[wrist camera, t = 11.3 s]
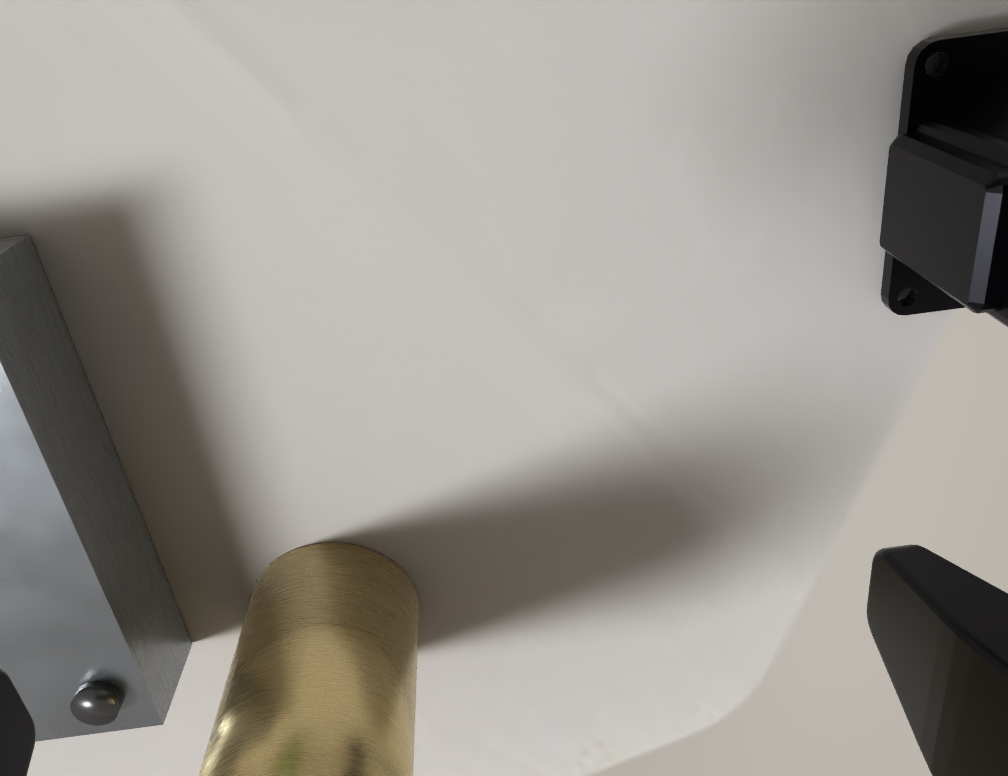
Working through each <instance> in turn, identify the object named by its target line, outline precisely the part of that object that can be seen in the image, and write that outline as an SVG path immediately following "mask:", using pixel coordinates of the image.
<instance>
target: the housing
mask: <svg viewBox="0 0 1008 776" xmlns="http://www.w3.org/2000/svg"><path fill="white" fill-rule="evenodd" d="M191 646H192V642H191V639H190V637H189V634H188V632H187V629H186V627H185V624H184V622H183V619H182V617H181V614H180V612H179V609H178V607H177V604H176V602H175V599H174V597H173V594H172V592H171V589H170V587H169V584H168V581H167V579H166V576H165V574H164V571H163V569H162V566H161V564H160V561H159V559H158V556H157V554H156V551H155V549H154V546H153V544H152V541H151V539H150V536H149V534H148V531H147V529H146V526H145V524H144V521H143V519H142V516H141V514H140V511H139V509H138V506H137V504H136V501H135V499H134V496H133V494H132V491H131V489H130V486H129V484H128V481H127V478H126V476H125V473H124V471H123V468H122V466H121V463H120V461H119V458H118V456H117V453H116V451H115V448H114V446H113V443H112V441H111V438H110V436H109V433H108V431H107V428H106V426H105V423H104V421H103V418H102V416H101V413H100V411H99V408H98V406H97V403H96V401H95V398H94V396H93V393H92V391H91V388H90V386H89V383H88V381H87V378H86V376H85V373H84V370H83V368H82V365H81V363H80V360H79V358H78V355H77V353H76V350H75V348H74V345H73V343H72V340H71V338H70V335H69V333H68V330H67V328H66V325H65V323H64V320H63V318H62V315H61V313H60V310H59V308H58V305H57V303H56V300H55V298H54V295H53V293H52V290H51V288H50V285H49V283H48V280H47V278H46V275H45V273H44V270H43V267H42V265H41V262H40V260H39V257H38V255H37V252H36V250H35V247H34V245H33V242H32V240H31V237H30V235H29V234H28V235H20V236H13V237H5V238H0V669H1V670H3V671H4V672H6V673H7V675H8V676H9V677H10V679H11V681H12V683H13V685H14V686H15V688H16V690H17V692H18V694H19V695H20V697H21V699H22V701H23V703H24V704H25V706H26V708H27V710H28V712H29V713H30V715H31V717H32V719H33V722H34V726H35V734H36V736H35V741H43V740H50V739H58V738H65V737H73V736H80V735H88V734H95V733H103V732H110V731H118V730H126V729H133V728H141V727H148V726H156V725H163V724H164V721H165V718H166V715H167V712H168V710H169V707H170V704H171V701H172V699H173V696H174V693H175V690H176V687H177V685H178V682H179V679H180V676H181V673H182V671H183V668H184V665H185V662H186V660H187V657H188V654H189V651H190V648H191Z"/></svg>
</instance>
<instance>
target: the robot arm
mask: <svg viewBox="0 0 1008 776" xmlns="http://www.w3.org/2000/svg"><path fill="white" fill-rule="evenodd" d="M936 52H937V54H938V56H939V62H938V65H937V67H936V68H935V69H934V70H933V71H932V72H930V73H927V72H926V68H925V65H926V62H927V59H928V58H929V57H930V56H931V55H932V54H934V53H936ZM880 246H881V247H882V248H883V249H884V250H886V251H885V261H884V270H883V279H882V289H881V298H882V301H883V303H884V304H885V306H886V307H888V308H889V309H890V310H891V311H892V312H894V313H896V314H898V315H911V314H919V313H926V312H934V311H942V310H949V309H957V308H964V307H966V308H968V309H969V310H971V311H972V312H974V313H984V312H986V313H988V314H989V315H991V316H992V317H994V318H995V319H997V320H998V321H1000V322H1001V323H1003V324H1004V325H1006V326H1007V327H1008V28H1003V29H995V30H987V31H980V32H972V33H964V34H957V35H949V36H941V37H934V38H929V39H926V40H923V41H921V42H920V43H918V44H917V45H916V46H915V47H913V49H912V50H911V52H910V53H909V55H908V57H907V61H906V64H905V73H904V82H903V92H902V101H901V111H900V120H899V129H898V136H897V137H896V139H895V140H894V141H893V143H892V144H891V145H890V148H889V157H888V166H887V176H886V186H885V196H884V205H883V215H882V225H881V235H880ZM909 287H910V289H911V290H910V293H909V295H908V296H907V297H906V298H905V299H902V300H898V297H899V294H900V293H901V292H902V291H903V290H904V289H906V288H909ZM867 618H868V624H869V627H870V630H871V633H872V636H873V638H874V640H875V643H876V645H877V648H878V650H879V652H880V655H881V657H882V659H883V662H884V664H885V666H886V669H887V671H888V674H889V676H890V678H891V681H892V683H893V686H894V688H895V690H896V693H897V695H898V697H899V700H900V702H901V704H902V707H903V709H904V712H905V714H906V716H907V719H908V721H909V723H910V726H911V728H912V730H913V733H914V735H915V738H916V740H917V743H918V745H919V747H920V749H921V751H922V754H923V756H924V758H925V761H926V763H927V765H928V767H929V769H930V771H931V773H932V775H933V776H1008V594H1007V593H1006V592H1004V591H1002V590H1000V589H998V588H997V587H995V586H993V585H991V584H989V583H988V582H986V581H984V580H982V579H980V578H979V577H977V576H975V575H973V574H971V573H969V572H968V571H966V570H964V569H962V568H960V567H959V566H956V565H955V564H953V563H951V562H949V561H948V560H946V559H944V558H942V557H940V556H939V555H937V554H935V553H933V552H931V551H929V550H928V549H926V548H924V547H921V546H918V545H905V546H897V547H890V548H883V549H881V550H879V551H878V552H876V554H875V556H874V558H873V562H872V570H871V578H870V586H869V595H868V603H867ZM35 736H36V734H35V726H34V722H33V719H32V717H31V715H30V713H29V712H28V710H27V708H26V706H25V704H24V703H23V701H22V699H21V697H20V695H19V694H18V692H17V690H16V688H15V686H14V685H13V683H12V681H11V679H10V677H9V676H8V675H7V673H6V672H4V671H3V670H1V669H0V776H27V772H28V768H29V764H30V761H31V757H32V753H33V749H34V745H35Z"/></svg>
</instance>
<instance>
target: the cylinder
mask: <svg viewBox="0 0 1008 776" xmlns="http://www.w3.org/2000/svg"><path fill="white" fill-rule="evenodd" d="M418 626H419V600H418V596H417V592H416V589H415V587H414V585H413V583H412V581H411V580H410V578H409V577H408V576H407V574H406V573H405V572H404V571H403V570H402V569H401V568H400V567H399V566H398V565H397V564H395V563H394V562H393V561H392V560H390V559H388V558H387V557H385V556H384V555H382V554H379V553H377V552H375V551H373V550H370V549H367V548H364V547H361V546H357V545H352V544H345V543H320V544H313V545H308V546H304V547H301V548H298V549H295V550H293V551H290V552H288V553H286V554H284V555H282V556H281V557H279V558H277V559H276V560H275V561H274V562H272V563H271V564H270V565H269V566H268V567H267V568H266V569H265V570H264V571H263V572H262V574H261V575H260V577H259V578H258V580H257V582H256V584H255V586H254V589H253V593H252V596H251V600H250V603H249V606H248V610H247V613H246V617H245V620H244V624H243V627H242V630H241V634H240V637H239V641H238V644H237V647H236V651H235V654H234V658H233V661H232V664H231V668H230V671H229V675H228V678H227V681H226V685H225V688H224V692H223V695H222V699H221V702H220V705H219V709H218V712H217V716H216V719H215V722H214V726H213V729H212V733H211V736H210V739H209V743H208V746H207V750H206V753H205V756H204V760H203V763H202V767H201V770H200V774H199V776H413V761H414V734H415V707H416V680H417V653H418Z"/></svg>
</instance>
